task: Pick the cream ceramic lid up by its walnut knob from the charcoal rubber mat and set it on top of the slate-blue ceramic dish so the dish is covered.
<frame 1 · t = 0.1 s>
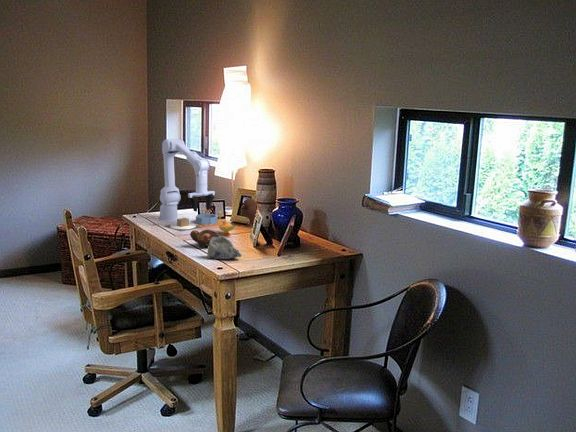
hand: (201, 210, 291), 10 cm above the table, fingers open, 7 cm apart
mineral rock: (223, 259, 243), on the table
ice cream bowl: (251, 226, 303), on the table
dish: (206, 223, 307), on the table
mat: (183, 227, 296), on the table
decorative turtle: (207, 247, 261), on the table
lid: (183, 226, 296), resting on mat
magic lamp: (227, 235, 283), on the table
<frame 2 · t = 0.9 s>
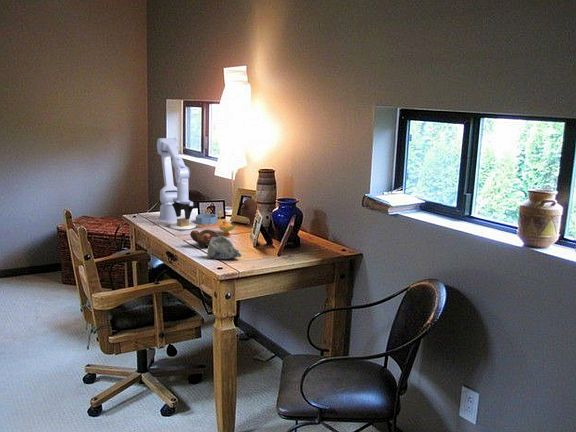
hand: (183, 217, 295), 5 cm above the table, fingers open, 7 cm apart
nothing on the table moved.
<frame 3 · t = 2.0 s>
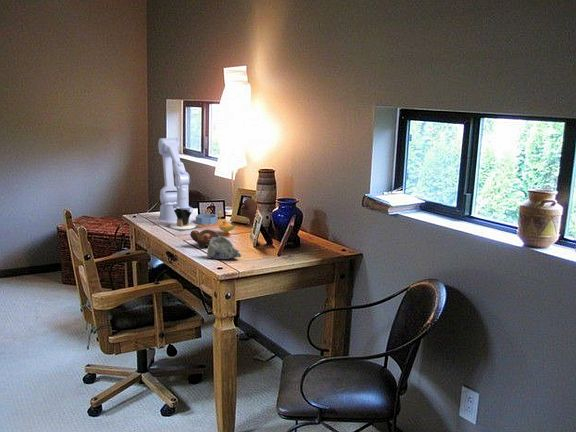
hand: (183, 223, 295), 2 cm above the table, fingers closed on lid, 3 cm apart
lid: (183, 226, 296), resting on mat, touching gripper
everything else where it was.
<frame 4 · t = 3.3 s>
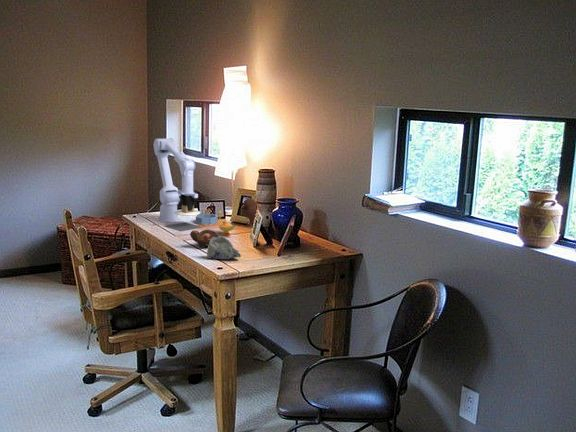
hand: (187, 209, 296), 9 cm above the table, fingers closed on lid, 3 cm apart
lid: (187, 213, 297), point 7 cm above the table, touching gripper
everything else where it was.
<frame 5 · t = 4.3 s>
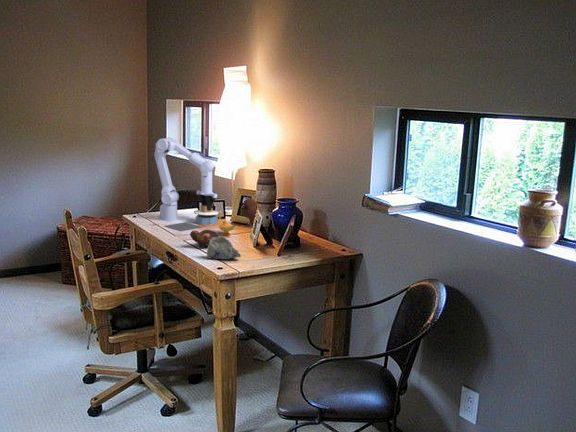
hand: (206, 209, 305), 7 cm above the table, fingers closed on lid, 3 cm apart
lid: (206, 213, 305), point 6 cm above the table, touching gripper
everything else where it was.
when the fingers open (7 cm above the table, at t = 4.8 s): lid stays where it is, resting on dish.
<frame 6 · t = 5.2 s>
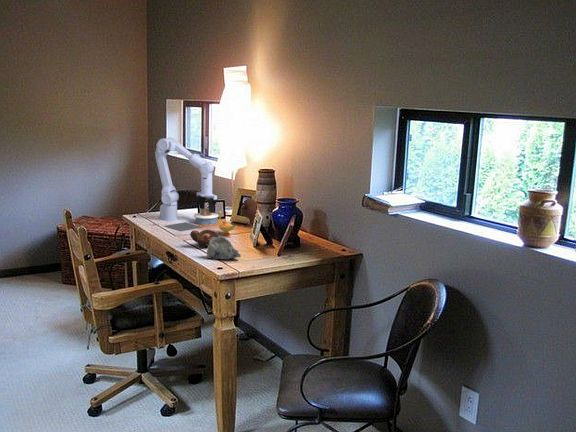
hand: (206, 211, 306), 7 cm above the table, fingers open, 7 cm apart
lid: (206, 216, 306), point 4 cm above the table, touching dish
everything else where it was.
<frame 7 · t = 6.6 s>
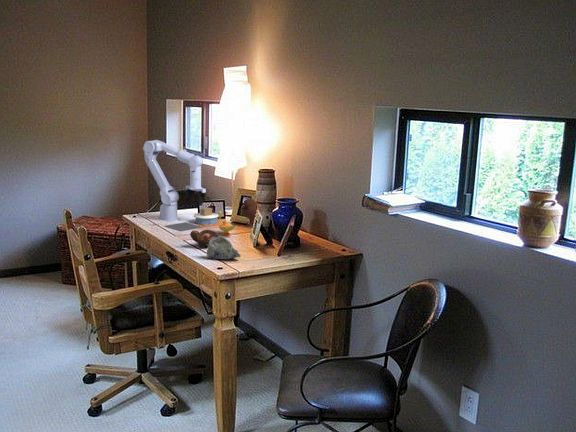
hand: (195, 204, 306), 10 cm above the table, fingers open, 7 cm apart
nothing on the table moved.
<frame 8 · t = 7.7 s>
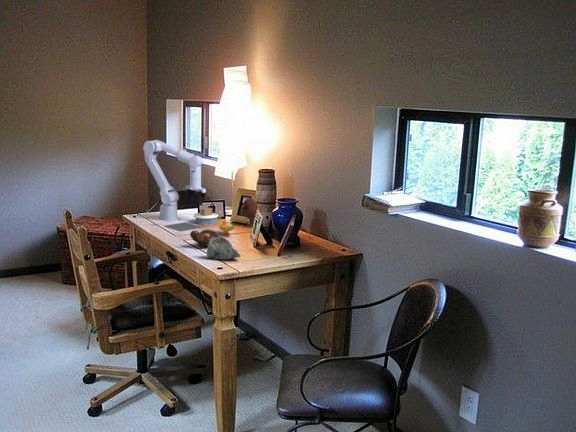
hand: (195, 204, 306), 10 cm above the table, fingers open, 7 cm apart
nothing on the table moved.
at the end: lid 0.5 cm off-centre on the dish, point 4.0 cm above the dish's base; lid tilted 0°; the gripper is holding nothing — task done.
